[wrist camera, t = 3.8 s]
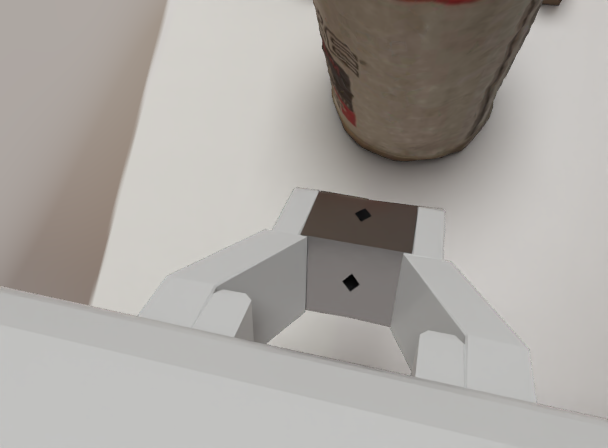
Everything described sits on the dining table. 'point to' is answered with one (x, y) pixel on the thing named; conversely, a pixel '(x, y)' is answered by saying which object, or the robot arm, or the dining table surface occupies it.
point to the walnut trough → (551, 2)
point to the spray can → (419, 68)
